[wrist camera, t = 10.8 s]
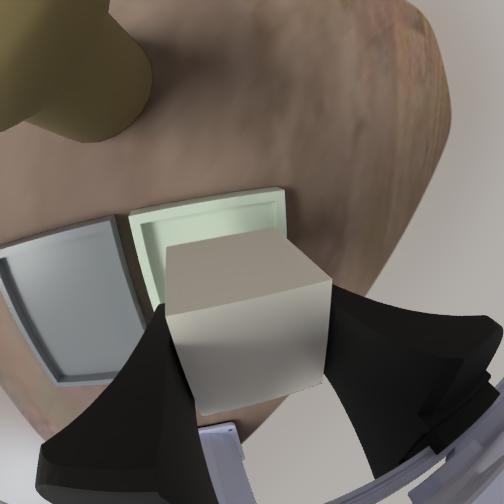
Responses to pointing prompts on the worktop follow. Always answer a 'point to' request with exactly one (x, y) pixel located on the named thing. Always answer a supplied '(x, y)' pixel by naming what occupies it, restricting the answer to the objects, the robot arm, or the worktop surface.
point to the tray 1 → (74, 300)
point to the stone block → (246, 318)
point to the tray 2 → (200, 226)
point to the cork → (70, 69)
